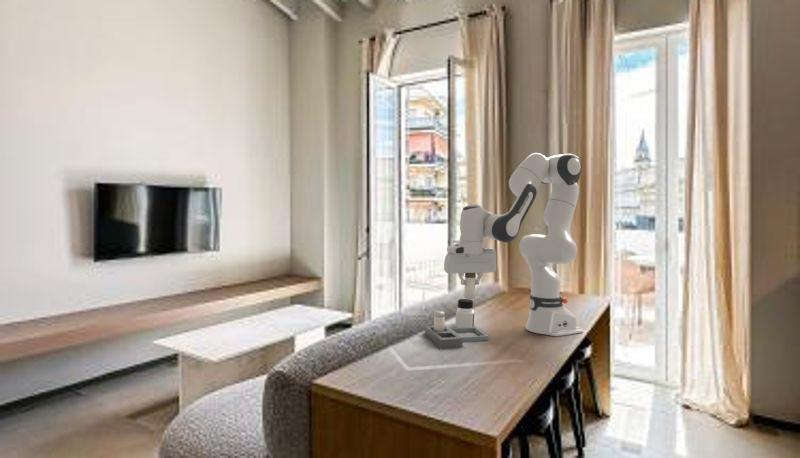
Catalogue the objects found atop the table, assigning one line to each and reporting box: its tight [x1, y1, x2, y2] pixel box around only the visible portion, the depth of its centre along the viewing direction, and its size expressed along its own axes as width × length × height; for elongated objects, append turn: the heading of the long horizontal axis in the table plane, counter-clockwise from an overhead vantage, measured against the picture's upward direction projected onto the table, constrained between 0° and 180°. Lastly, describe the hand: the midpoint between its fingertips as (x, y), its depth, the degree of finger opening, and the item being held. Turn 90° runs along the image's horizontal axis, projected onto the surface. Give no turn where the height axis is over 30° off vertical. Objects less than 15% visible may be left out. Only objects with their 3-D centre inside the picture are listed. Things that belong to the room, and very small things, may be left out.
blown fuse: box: [463, 273, 477, 300], centre depth 184 cm, size 4×4×10 cm
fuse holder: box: [420, 325, 467, 350], centre depth 179 cm, size 20×10×4 cm, turn 15°
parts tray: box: [449, 326, 489, 343], centre depth 185 cm, size 11×12×2 cm
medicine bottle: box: [454, 298, 475, 328], centre depth 199 cm, size 7×7×12 cm
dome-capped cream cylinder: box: [433, 310, 446, 331], centre depth 183 cm, size 4×4×10 cm
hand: (470, 284), depth 184 cm, fingers closed on blown fuse, 4 cm apart
